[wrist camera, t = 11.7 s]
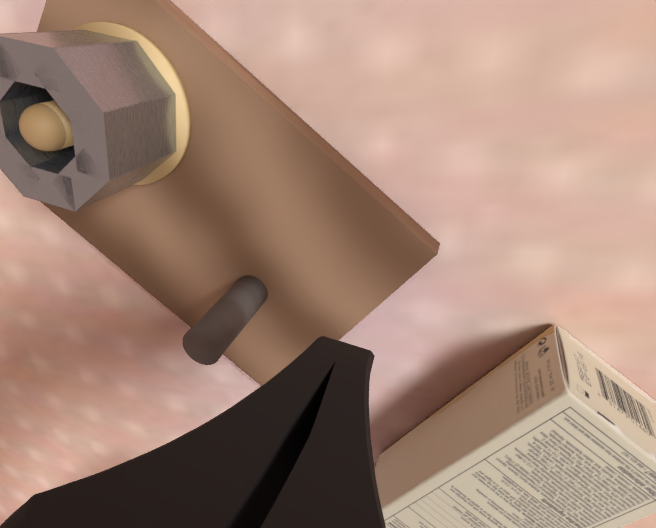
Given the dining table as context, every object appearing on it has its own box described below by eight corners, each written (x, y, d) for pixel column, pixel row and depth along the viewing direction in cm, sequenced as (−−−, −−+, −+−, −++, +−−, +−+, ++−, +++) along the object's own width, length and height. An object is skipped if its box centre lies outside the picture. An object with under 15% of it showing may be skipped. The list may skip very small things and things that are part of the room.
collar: (176, 188, 20) (113, 223, 17) (68, 158, 21) (-12, 185, 18) (175, 48, 18) (98, 57, 14) (50, 22, 19) (-48, 24, 15)
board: (281, 383, 26) (230, 470, 21) (13, 159, 24) (-108, 196, 19) (439, 243, 19) (420, 322, 15) (89, -72, 18) (-63, -103, 13)
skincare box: (556, 318, 19) (376, 446, 26) (570, 393, 16) (355, 520, 22) (672, 412, 20) (464, 515, 26) (711, 507, 16) (458, 599, 23)
